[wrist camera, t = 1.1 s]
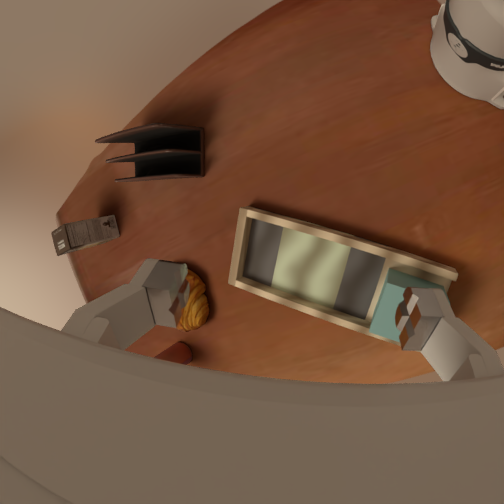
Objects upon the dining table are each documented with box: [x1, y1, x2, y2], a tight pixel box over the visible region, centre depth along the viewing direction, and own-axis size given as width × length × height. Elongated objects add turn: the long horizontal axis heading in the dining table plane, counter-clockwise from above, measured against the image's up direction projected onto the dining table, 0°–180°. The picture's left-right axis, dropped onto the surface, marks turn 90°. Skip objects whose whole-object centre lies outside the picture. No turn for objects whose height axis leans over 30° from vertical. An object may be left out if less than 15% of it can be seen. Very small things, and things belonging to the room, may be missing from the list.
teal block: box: [369, 268, 450, 342], centre depth 40 cm, size 10×8×8 cm
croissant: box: [176, 269, 209, 332], centre depth 63 cm, size 14×16×8 cm
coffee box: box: [52, 215, 120, 256], centre depth 68 cm, size 9×6×16 cm
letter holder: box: [95, 123, 204, 182], centre depth 54 cm, size 10×20×14 cm, turn 91°
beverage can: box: [154, 342, 192, 365], centre depth 64 cm, size 6×6×15 cm
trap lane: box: [228, 206, 458, 352], centre depth 47 cm, size 38×14×3 cm, turn 80°
